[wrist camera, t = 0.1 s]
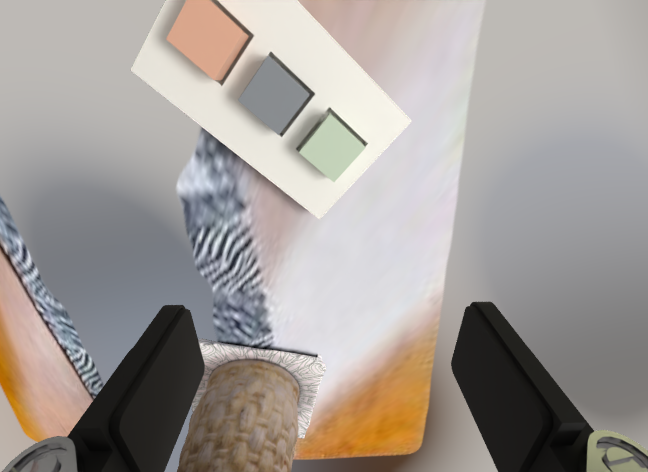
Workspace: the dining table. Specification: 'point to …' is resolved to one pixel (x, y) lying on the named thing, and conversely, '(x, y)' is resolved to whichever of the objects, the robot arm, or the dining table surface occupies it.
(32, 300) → the dining table surface
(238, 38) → the terracotta key
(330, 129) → the sage key
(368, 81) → the keypad
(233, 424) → the cookie jar
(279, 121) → the charcoal key
